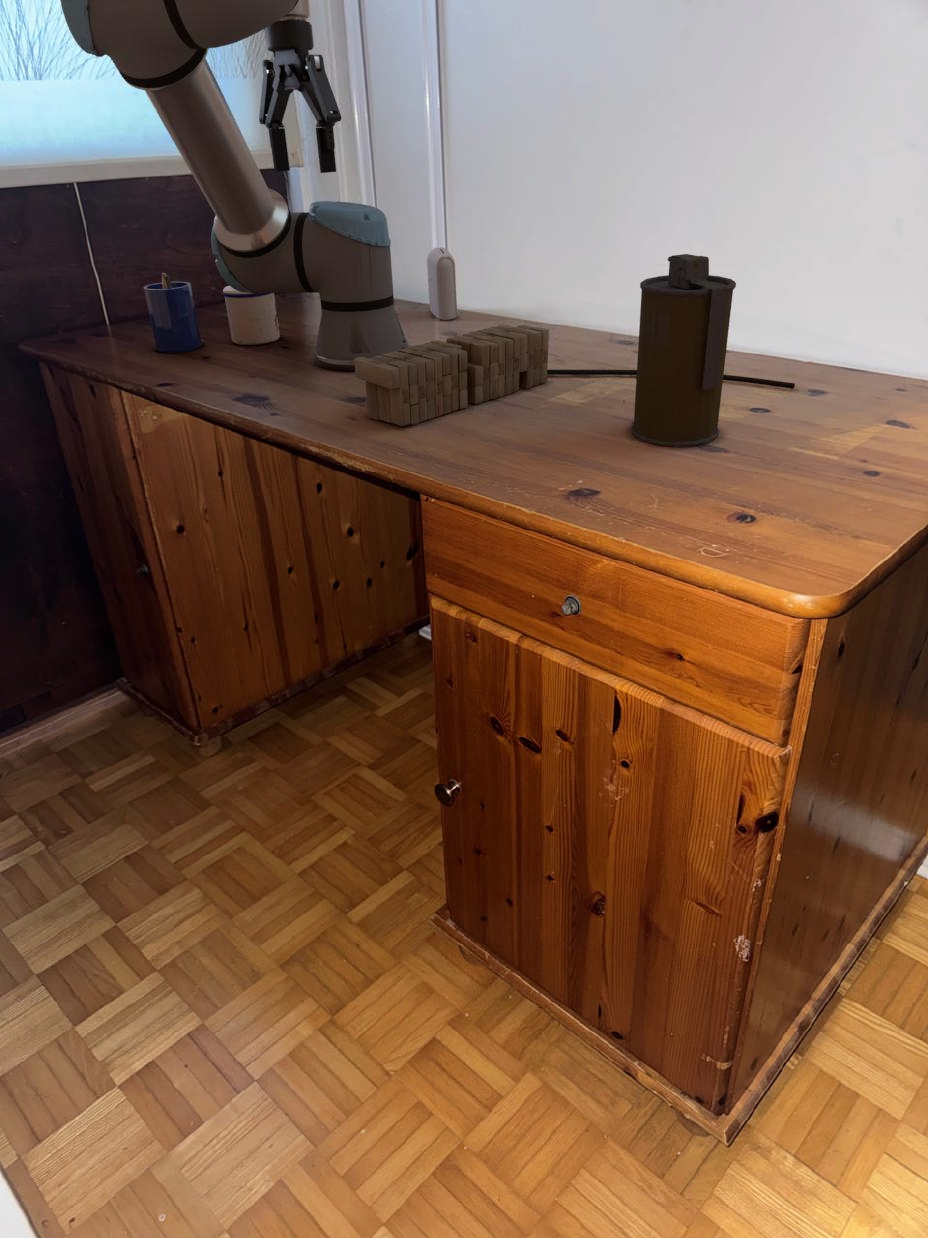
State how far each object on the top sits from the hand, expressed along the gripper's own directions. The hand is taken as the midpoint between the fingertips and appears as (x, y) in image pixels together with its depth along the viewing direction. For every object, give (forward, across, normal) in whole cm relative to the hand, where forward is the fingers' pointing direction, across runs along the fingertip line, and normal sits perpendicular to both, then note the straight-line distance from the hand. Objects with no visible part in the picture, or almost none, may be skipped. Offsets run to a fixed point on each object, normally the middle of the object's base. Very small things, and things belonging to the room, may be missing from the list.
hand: (304, 171), depth 148 cm
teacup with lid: (+27, +7, +11) cm, 30 cm away
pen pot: (+27, +12, +23) cm, 37 cm away
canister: (+27, -82, +7) cm, 87 cm away
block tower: (+27, -51, +14) cm, 59 cm away
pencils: (+27, +12, +23) cm, 37 cm away
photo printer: (+27, -7, -24) cm, 37 cm away
